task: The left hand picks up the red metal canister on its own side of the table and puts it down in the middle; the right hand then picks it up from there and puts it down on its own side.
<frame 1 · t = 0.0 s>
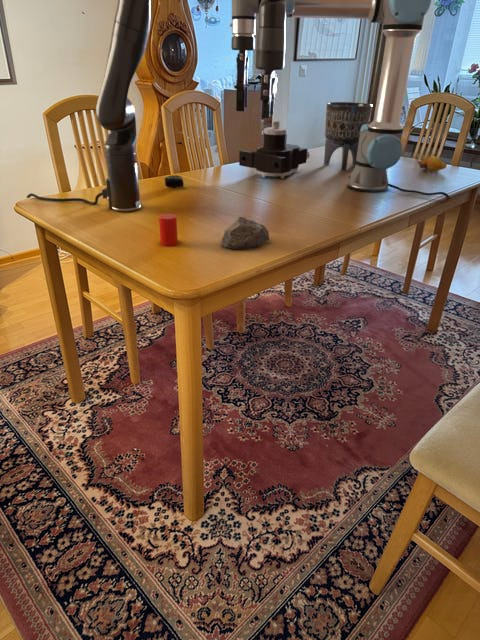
left hand: (267, 116, 127), 29 cm above the table, tool pointing down, fingers open, 8 cm apart
right hand: (241, 109, 155), 28 cm above the table, tool pointing down, fingers open, 13 cm apart
toy: (430, 170, 209), on the table
canister: (169, 243, 121), on the table
tape measure: (175, 188, 171), on the table
planter: (341, 167, 211), on the table
mechanical component: (280, 173, 196), on the table
rock: (247, 244, 122), on the table
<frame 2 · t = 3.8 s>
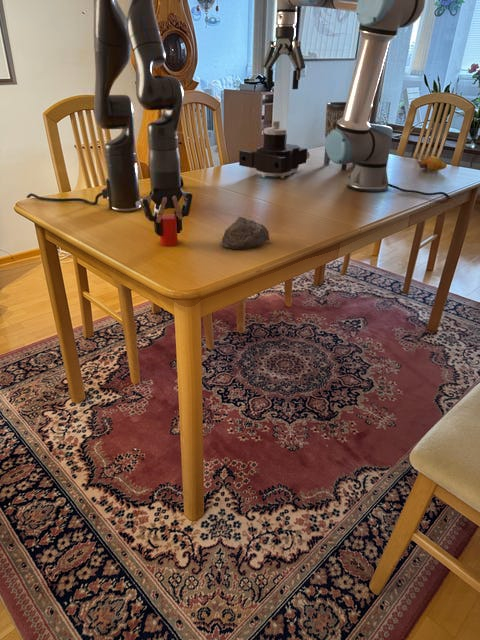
left hand: (168, 233, 120), 3 cm above the table, tool pointing down, fingers closed on canister, 4 cm apart
right hand: (282, 88, 185), 33 cm above the table, tool pointing down, fingers open, 13 cm apart
canister: (169, 243, 121), on the table, touching left hand
everything else where it was.
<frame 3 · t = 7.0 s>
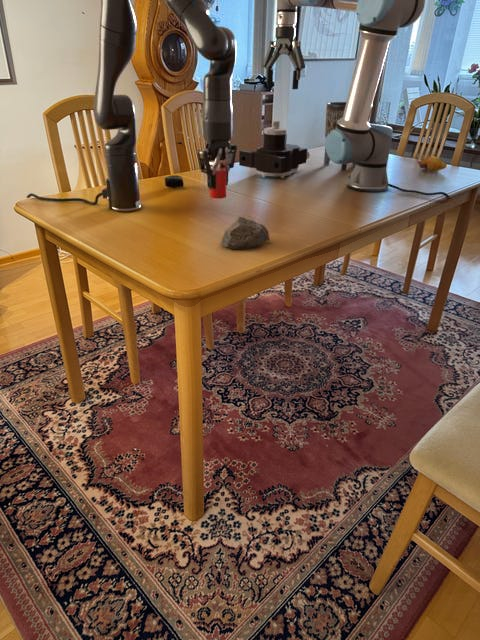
left hand: (218, 186, 124), 13 cm above the table, tool pointing down, fingers closed on canister, 4 cm apart
right hand: (282, 88, 185), 33 cm above the table, tool pointing down, fingers open, 13 cm apart
canister: (218, 196, 125), point 10 cm above the table, touching left hand
everything else where it was.
when the left hand's fingers open (3 cm above the table, at t = 10.2 s): canister stays where it is, on the table.
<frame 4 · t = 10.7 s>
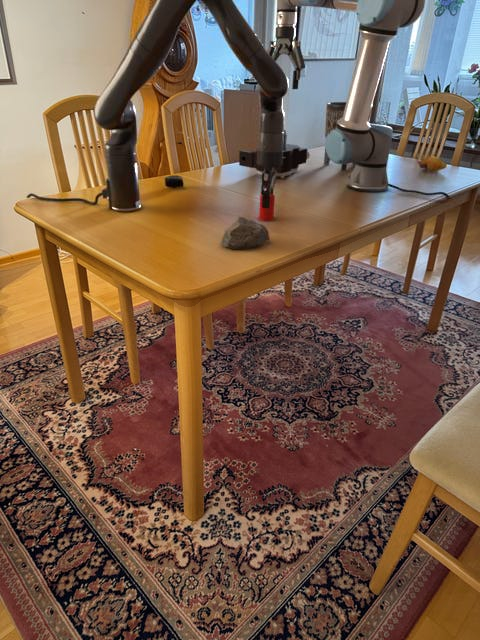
left hand: (267, 204, 139), 5 cm above the table, tool pointing down, fingers open, 8 cm apart
right hand: (282, 88, 185), 33 cm above the table, tool pointing down, fingers open, 13 cm apart
canister: (266, 218, 141), on the table
everything else where it was.
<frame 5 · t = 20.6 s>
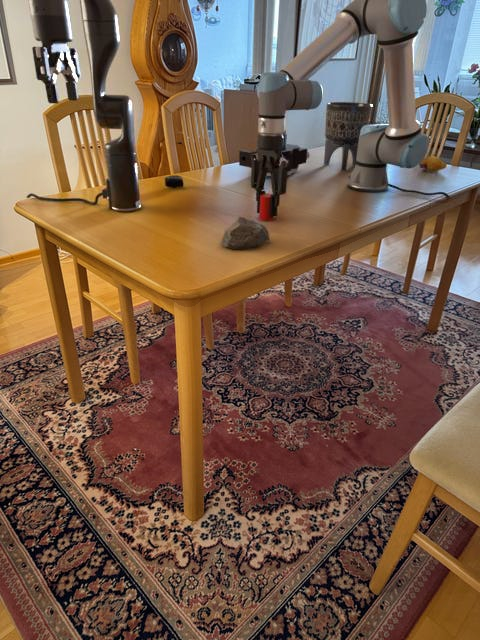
left hand: (64, 101, 101), 34 cm above the table, tool pointing down, fingers open, 8 cm apart
right hand: (266, 214, 141), 1 cm above the table, tool pointing down, fingers closed on canister, 5 cm apart
canister: (266, 218, 141), on the table, touching right hand
everything else where it was.
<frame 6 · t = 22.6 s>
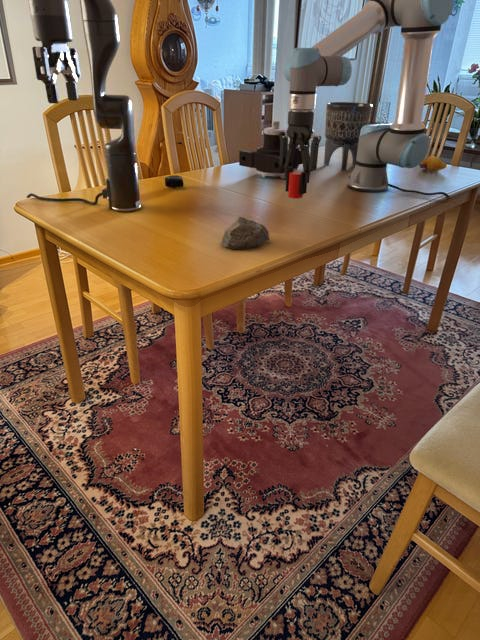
left hand: (64, 101, 101), 34 cm above the table, tool pointing down, fingers open, 8 cm apart
right hand: (295, 192, 141), 7 cm above the table, tool pointing down, fingers closed on canister, 5 cm apart
canister: (295, 196, 142), point 6 cm above the table, touching right hand
everything else where it was.
when the right hand's fingers open (2 cm above the table, at t = 24.6 s): canister stays where it is, on the table.
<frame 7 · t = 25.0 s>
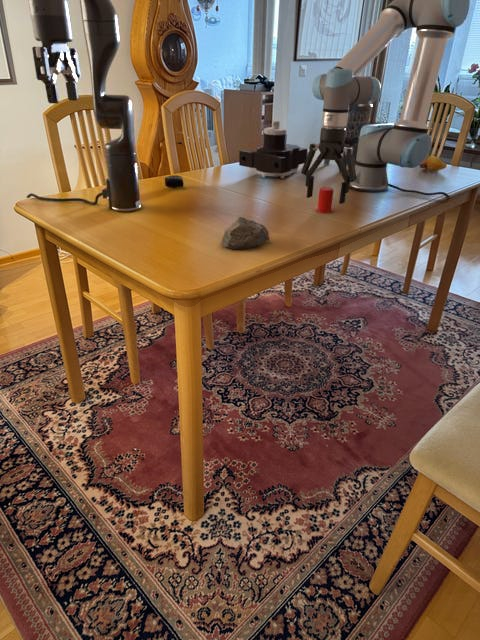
left hand: (64, 101, 101), 34 cm above the table, tool pointing down, fingers open, 8 cm apart
right hand: (325, 199, 148), 4 cm above the table, tool pointing down, fingers open, 11 cm apart
canister: (324, 211, 150), on the table
everything else where it was.
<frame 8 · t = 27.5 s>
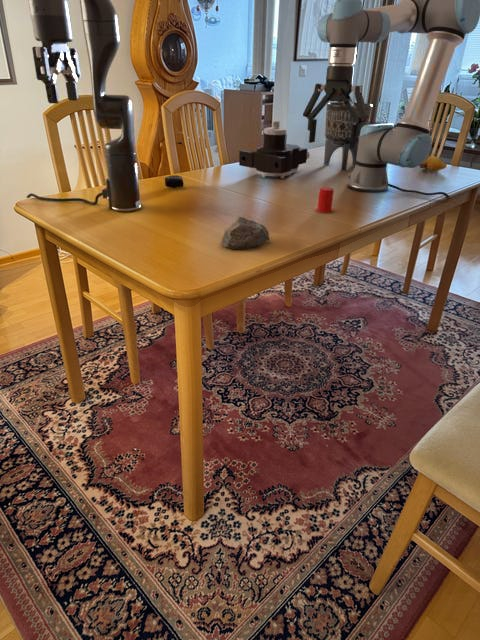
left hand: (64, 101, 101), 34 cm above the table, tool pointing down, fingers open, 8 cm apart
right hand: (331, 144, 139), 21 cm above the table, tool pointing down, fingers open, 13 cm apart
nothing on the table moved.
at the end: canister inside the target area (0.0 cm from its centre), on the table; canister tilted 0°; the two hands never held the canister at the same time; the left hand is holding nothing; the right hand is holding nothing; canister at rest at the end (0.0 cm/s) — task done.
